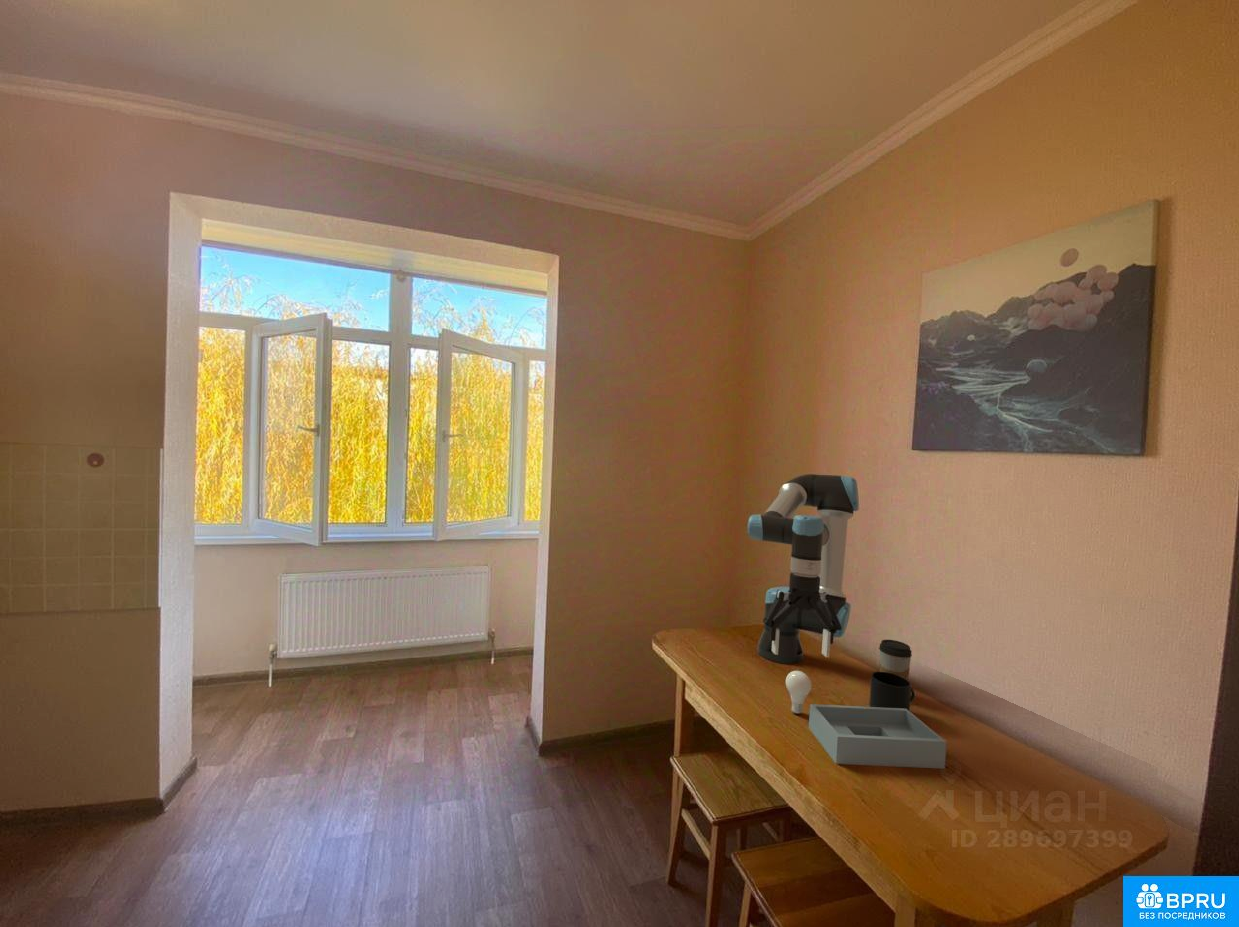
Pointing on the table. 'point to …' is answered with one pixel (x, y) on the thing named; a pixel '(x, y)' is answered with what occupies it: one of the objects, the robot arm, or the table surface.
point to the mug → (890, 691)
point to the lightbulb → (798, 689)
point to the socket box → (876, 736)
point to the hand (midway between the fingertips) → (800, 654)
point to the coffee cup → (895, 658)
